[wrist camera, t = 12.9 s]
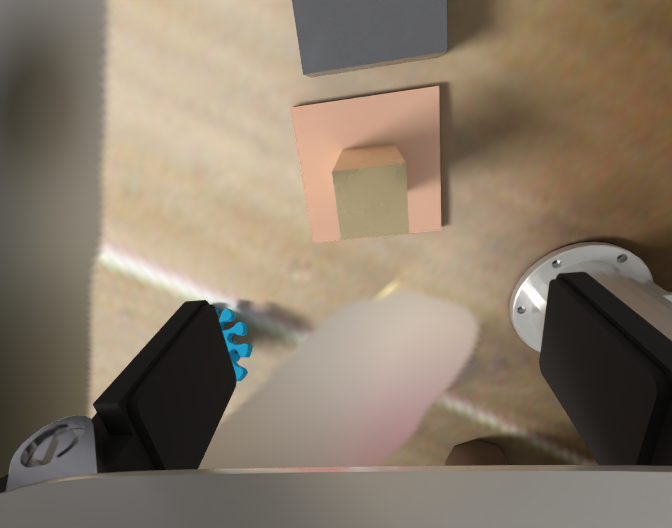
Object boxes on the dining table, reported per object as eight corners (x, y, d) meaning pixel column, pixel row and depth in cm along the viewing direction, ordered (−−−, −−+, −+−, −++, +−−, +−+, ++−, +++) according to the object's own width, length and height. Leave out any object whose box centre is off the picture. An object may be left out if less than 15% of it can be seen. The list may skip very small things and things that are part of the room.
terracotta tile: (437, 86, 29) (439, 85, 28) (439, 227, 34) (441, 230, 33) (291, 107, 30) (290, 107, 30) (314, 239, 35) (313, 242, 35)
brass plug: (394, 143, 30) (405, 163, 21) (397, 194, 32) (409, 233, 23) (342, 149, 31) (331, 171, 22) (348, 200, 33) (341, 239, 23)
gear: (246, 299, 37) (242, 404, 33) (274, 310, 42) (273, 401, 39) (161, 311, 40) (149, 407, 37) (197, 320, 46) (189, 405, 42)
